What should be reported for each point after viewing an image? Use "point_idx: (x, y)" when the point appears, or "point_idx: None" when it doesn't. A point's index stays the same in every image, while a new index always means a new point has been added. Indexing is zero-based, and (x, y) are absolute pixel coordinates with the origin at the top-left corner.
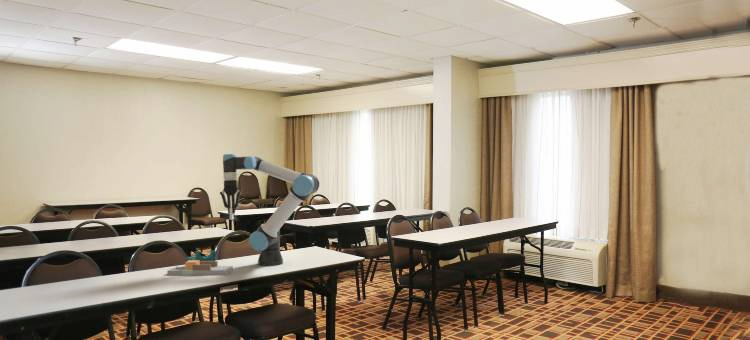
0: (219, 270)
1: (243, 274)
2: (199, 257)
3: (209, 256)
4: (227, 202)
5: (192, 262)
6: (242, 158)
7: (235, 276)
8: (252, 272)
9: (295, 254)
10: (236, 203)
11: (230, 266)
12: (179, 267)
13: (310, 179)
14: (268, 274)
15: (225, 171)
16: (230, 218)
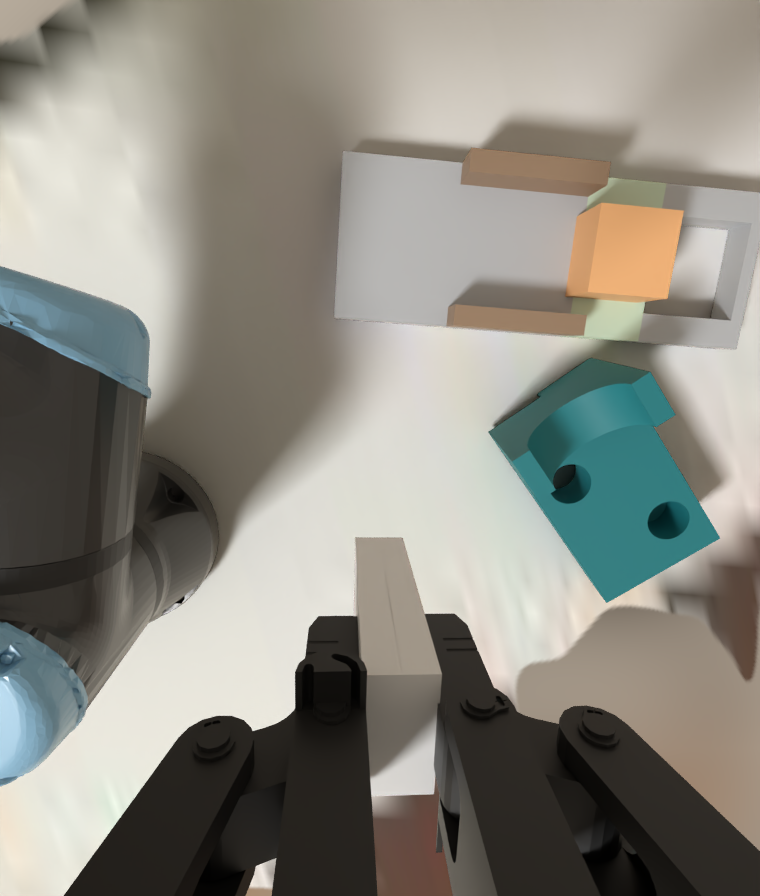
0: (391, 156)
1: (218, 154)
2: (610, 376)
3: (545, 438)
4: (595, 893)
5: (626, 205)
6: None
7: (256, 84)
8: (172, 222)
9: (54, 823)
10: (148, 847)
11: (346, 299)
12: (708, 319)
13: None
14: (27, 128)
15: None
16: (393, 545)
